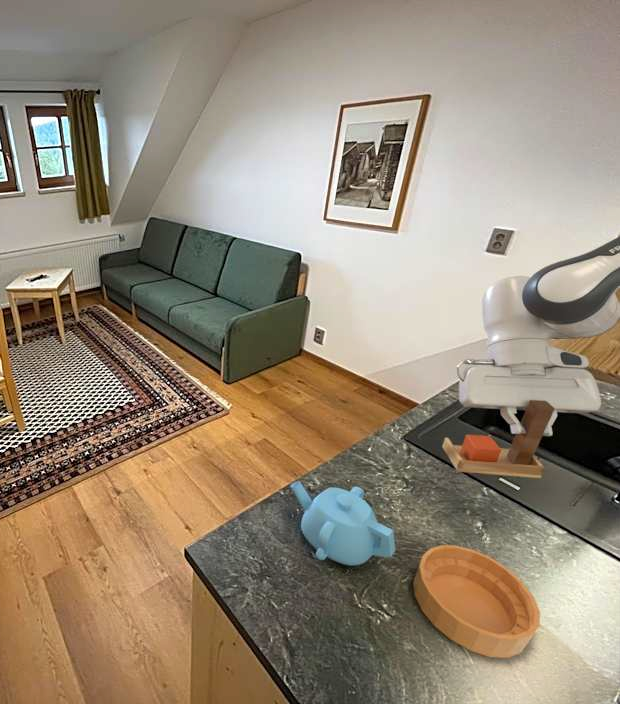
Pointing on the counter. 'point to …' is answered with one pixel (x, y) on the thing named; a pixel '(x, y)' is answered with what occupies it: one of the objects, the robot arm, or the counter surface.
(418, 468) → the counter surface
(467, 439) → the block
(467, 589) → the bowl
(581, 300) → the robot arm
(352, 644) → the counter surface
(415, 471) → the counter surface
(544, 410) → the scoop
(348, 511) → the teapot
